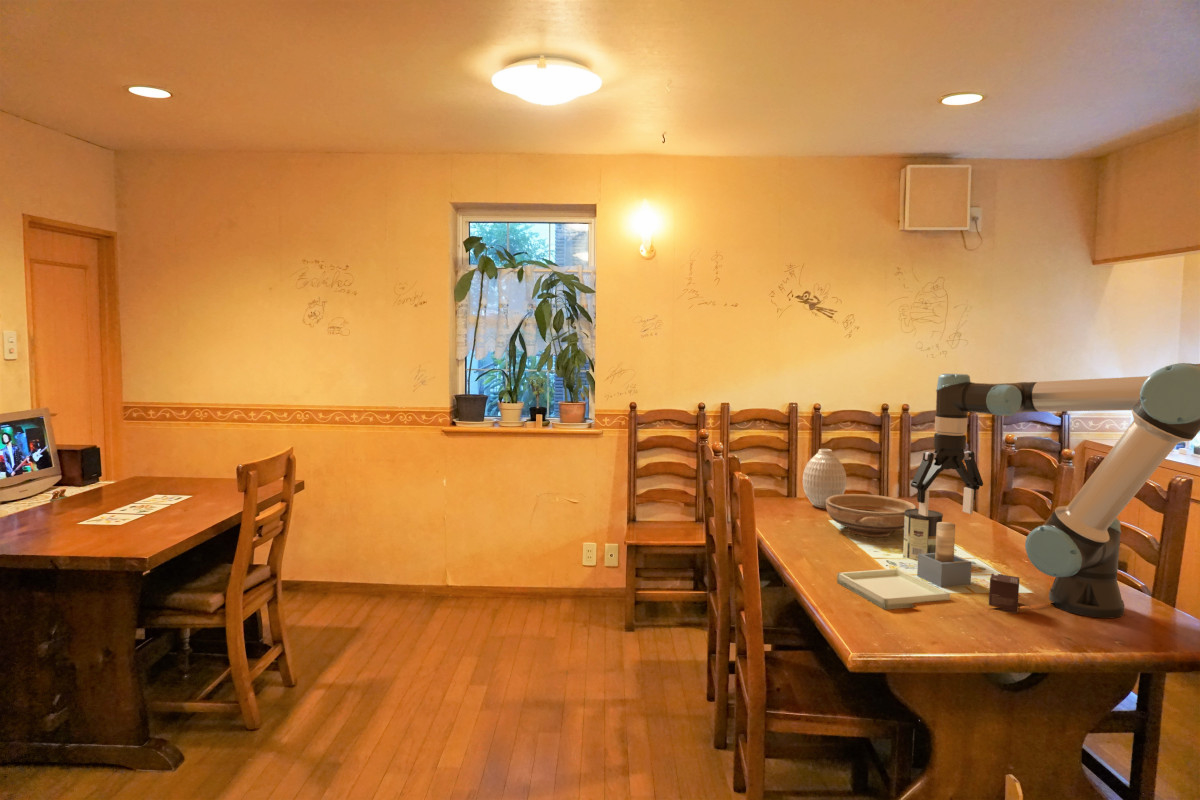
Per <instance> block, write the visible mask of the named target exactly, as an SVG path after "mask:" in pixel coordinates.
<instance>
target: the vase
mask: <svg viewBox="0 0 1200 800" xmlns="http://www.w3.org/2000/svg"><path fill="white" fill-rule="evenodd" d="M802 487H803V490H804V494H805V496H806V497H807V499H808V500H809V502H810V503H811V504H812V505H813V506H814V507H815V508H819V509H827V508H826V499H827V498H828V497H831V496H835V495H843V494H845V492H846V487H847V472H846V470H845V467H844V465H843V463H842V462H841V460H839V458H838V457H837V456H836V455H835V454H834V453H833V450H832V449H829V448H819V449H818V451H817V452H816V453H815V455H813V456H812V457H811V458H810V459H809V460H808V461H807V463H806V465H805V467H804V470H803V474H802Z"/></svg>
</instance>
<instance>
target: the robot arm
mask: <svg viewBox="0 0 1200 800" xmlns="http://www.w3.org/2000/svg"><path fill="white" fill-rule="evenodd" d="M935 392H936V400H935V403H936V404H935V418H934V419H935V420H934V431H935V433H934V434H933V447H934V452H929V451H924V452H923V455H922V459H921V462H920V465H919V466H918V469H917V471H916V472H915V474H914V477H913V479H912V481H911V483H910V487H911V488H915V489H916V491H917V493H916V495H917V499H916V500H917V501H916V502H917V503H918V509H919V512H918V514H920V515H923V516H928V510H929V505H930V503H929V501H930V490H928V489H929V487H930V486H931V485H932V483H933V482H934V481H935V479H936V478H937V477H938V476H939V475H940V474H941V472H943V471H944V470H955V471H956V472H957V474H958V475H959V477H960V478H961V479H962V481H963V483H964V484H965V485H966V486H965V487H963V497H962V498H963V499H962V513H966V514H969V515H973V510H974V501H975V500H976V490H980V487H983V485H984V481H983V478H982V477H981V473H980V470H979V467H978V465H977V463H976V459H975V457H976V456H975V452H974V451H970V450H965V449H966V448H967V447H966V446H967V435H965V434H966V433H967V432H968V415H969V413H977V414H986V415H993V416H994V415H995V416H997V417H999V416H1002V417H1003V416H1004V417H1005V416H1008V417H1011V416H1014V415H1016V414H1017V413H1038V412H1039V413H1040V412H1042V413H1043V412H1091V411H1092V412H1096V411H1098V412H1099V411H1100V412H1101V411H1102V412H1103V411H1108V412H1109V411H1131V414H1132V416H1133V420H1132V422H1131V424H1130V425H1129V426H1128V427H1127V428H1126V430H1125V431H1124V433H1122V435H1121V436H1120V437H1119V439H1118V440H1117V441H1116V442H1115V444H1114V445H1113V447H1112V448H1111V449H1110V450H1109V451H1108V453H1107V454H1106V456H1104V458H1103V459H1102V461H1101V462H1100V463H1099V465H1098V466H1097V467H1096V468H1095V470H1094V471H1093V472H1092V473H1091V474H1090V476H1089V478H1087V480H1086V481H1085V483H1084V484H1083V485H1082V486H1081V488H1080V490H1079V491H1078V492H1077V493H1076V495H1075V496H1073V498H1072V500H1071V501H1070V503H1068V505H1063V506H1057V507H1055V509H1054V511H1052V513H1051V514H1050V516H1049V517H1048V518H1047V519H1046V520H1045V522H1044V523H1043V524H1042V525H1039V526H1037V527H1034V529H1032V530H1031V531H1030V532H1029V533H1028V535H1027V536H1026V539H1025V543H1024V545H1025V552H1026V554H1027V555H1026V556H1027V558H1028V560H1029V562H1030V563H1031V564H1032V565H1033V567H1035V568H1036V569H1037V570H1038V571H1039V572H1041V573H1043V574H1044V575H1047V576H1049V577H1054V580H1053V582H1052V586H1051V587H1050V588H1049V591H1048V599H1049V600H1050V601H1051V602H1050V605H1052V606H1053V607H1055V608H1057V609H1060V610H1062V611H1065V612H1067V613H1072V614H1076V615H1080V616H1085V617H1089V618H1090V617H1091V618H1099V619H1101V618H1102V619H1115V618H1116V619H1117V618H1120V617H1122V616H1124V613H1125V603H1124V600H1123V599H1122V595H1121V590H1120V586H1119V583H1118V572H1119V571H1118V570H1119V559H1120V558H1119V557H1120V542H1121V535H1122V531H1121V522H1120V519H1119V518H1118V516H1119V515H1121V513H1122V512H1123V511H1124V509H1125V508H1126V507H1127V506H1128V504H1129V503H1130V502H1131V501H1132V500H1133V498H1134V497H1135V496H1136V495H1137V494H1138V492H1139V491H1140V490H1141V489H1142V487H1144V485H1145V484H1146V482H1147V481H1148V480H1149V479H1150V478H1151V476H1153V474H1154V472H1155V471H1157V470H1158V468H1159V467H1160V465H1161V464H1162V463H1163V462H1164V461H1165V460H1166V458H1167V457H1168V456H1169V455H1170V454H1171V452H1172V451H1173V450H1174V448H1175V447H1176V446H1177V445H1178V444H1179V443H1182V442H1189V441H1193V439H1195V437H1196V436H1197V434H1198V433H1200V363H1188V362H1187V363H1185V362H1178V363H1174V364H1173V363H1172V364H1170V365H1166V366H1164V367H1160V368H1159V369H1157V370H1155V371H1154V372H1152V373H1150V375H1147V376H1146V375H1145V376H1144V375H1143V376H1129V377H1107V378H1106V377H1104V378H1089V379H1085V378H1083V379H1071V380H1070V379H1067V380H1050V381H1045V380H1044V381H1027V382H1026V381H1025V382H1023V381H1022V382H1021V381H1020V382H1011V383H1006V382H1005V383H985V382H984V383H979V382H977V383H976V382H971V376H970V375H969V374H966V373H965V374H964V373H941V374H940V375H938V377H937V384H936V390H935ZM963 460H964V462H963Z"/></svg>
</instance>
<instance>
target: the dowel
mask: <svg viewBox="0 0 1200 800" xmlns="http://www.w3.org/2000/svg"><path fill="white" fill-rule="evenodd" d="M955 537H956V524H955V523H952V522H948V521H942V522H937V529H936V551H935V560H938V561H940V562H942V563H944V562H954V555H955V542H956V538H955Z"/></svg>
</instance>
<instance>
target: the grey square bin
mask: <svg viewBox="0 0 1200 800" xmlns="http://www.w3.org/2000/svg"><path fill="white" fill-rule="evenodd" d="M972 563H973V562H972V561H971V560H969V559H966V558H964V557H960V556H958V555H955V554H954V562H944V563H942V562H940V561H938V560H935V553H925V554H918V561H917V572H916V573H917V574H916V575H917V578H919V579H921V580H923V581H924V580H925V582H928V583H930V584H932V585H934V586H935V585H936V587H938V588H939V587H940V588H947V587H949V588H950V587H958V586H959V587H960V586H970V585H971V582H972V581H971V580H972V566H973V565H972Z"/></svg>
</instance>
